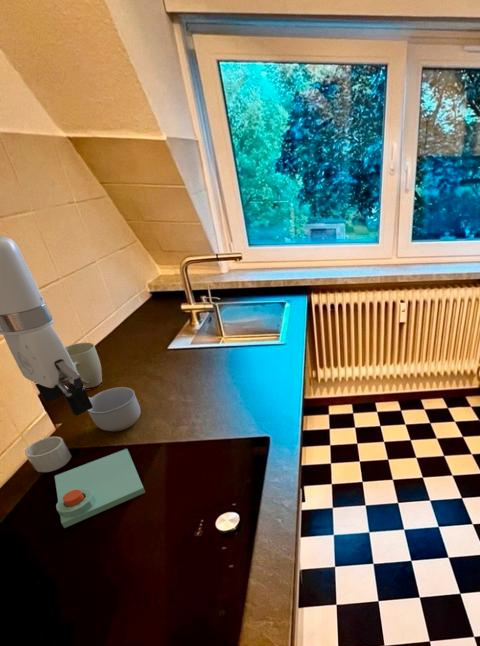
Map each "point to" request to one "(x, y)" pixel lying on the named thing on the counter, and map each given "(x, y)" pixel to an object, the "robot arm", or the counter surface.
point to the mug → (86, 363)
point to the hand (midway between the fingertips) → (68, 404)
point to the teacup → (114, 409)
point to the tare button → (73, 498)
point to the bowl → (48, 454)
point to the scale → (98, 486)
